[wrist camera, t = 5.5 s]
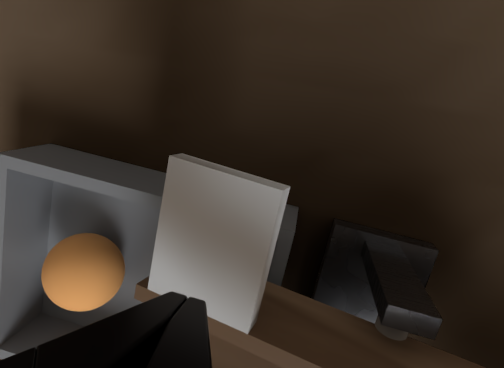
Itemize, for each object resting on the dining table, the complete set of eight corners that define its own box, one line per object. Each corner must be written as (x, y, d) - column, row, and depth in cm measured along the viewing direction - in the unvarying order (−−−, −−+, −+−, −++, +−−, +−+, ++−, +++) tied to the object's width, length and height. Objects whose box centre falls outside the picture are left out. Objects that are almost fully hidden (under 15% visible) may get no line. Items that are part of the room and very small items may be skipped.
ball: (127, 322, 20) (39, 334, 18) (113, 281, 23) (37, 287, 21) (137, 253, 19) (46, 257, 17) (121, 220, 22) (42, 220, 20)
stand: (369, 416, 22) (393, 559, 15) (284, 390, 22) (271, 517, 16) (432, 243, 19) (496, 323, 12) (334, 218, 20) (344, 280, 13)
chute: (551, 541, 16) (629, 762, 10) (185, 358, 21) (112, 440, 16) (704, 275, 12) (930, 392, 7) (229, 141, 18) (156, 151, 13)
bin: (253, 382, 23) (240, 437, 19) (36, 315, 24) (-14, 354, 20) (298, 207, 20) (294, 231, 16) (51, 143, 21) (-4, 152, 18)
